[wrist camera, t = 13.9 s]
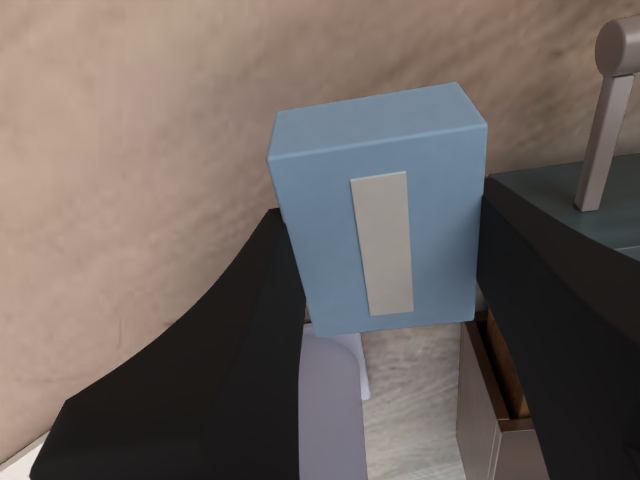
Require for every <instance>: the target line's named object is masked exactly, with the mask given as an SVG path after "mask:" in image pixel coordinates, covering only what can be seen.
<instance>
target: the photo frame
mask: <svg viewBox="0 0 640 480" xmlns="http://www.w3.org/2000/svg"><path fill="white" fill-rule="evenodd" d="M49 432H50V430H49V431H48V432H47V433H45V434H44V435H42V436H41V437H40V438H38V439H37V440H35V441H34V442H33V443H31V444H30V445H28V446H27V447H26V448H24V449H23V450H21V451H20V452H19V453H17V454H16V455H14V456H13V457H11V458H10V459H9V460H7V461H6V462H4V463H3V464H2V465H0V480H30V478H29V474H30V470H31V467H32V465H33V463H34V461H35V459H36V457H37V455H38V453H39V451H40V449H41V447H42V445H43V444H44V442H45V440H46V438H47V436H48V434H49Z"/></svg>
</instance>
